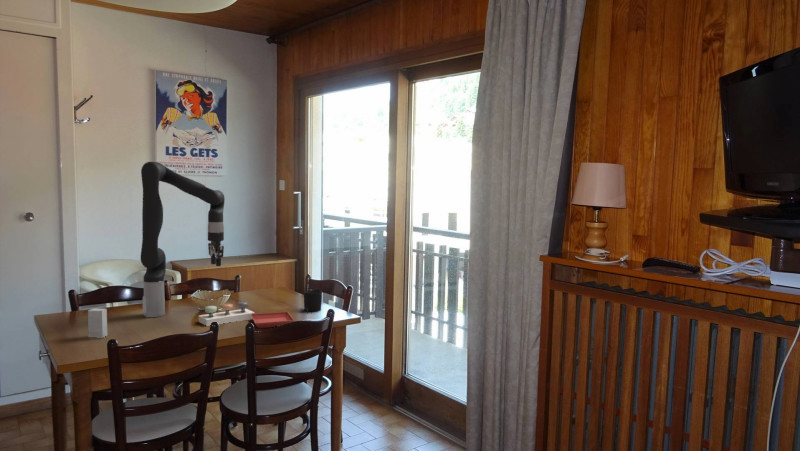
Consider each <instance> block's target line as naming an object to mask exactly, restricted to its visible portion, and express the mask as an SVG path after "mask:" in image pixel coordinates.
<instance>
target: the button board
mask: <svg viewBox="0 0 800 451" xmlns="http://www.w3.org/2000/svg"><path fill="white" fill-rule="evenodd" d="M251 314H256V313H255V312H254V311H252V310H251V309H248V308H245V312H243V313H241V308H239V309H234V310H233V309H232V310H229V315H225V311H222V312H213V317H209V313H207V314H201V315H198V323H200V324H201V325H203V324H204V326H205V325H206V326H205V327H211V326H210V325H211V323H212V322H218V323H219V324H218V325H224V324H223V323H225V324H230V323H229V322H231V323H236V321H237V322H242V321H243V320H244V321H249V320H253V318H252V316H251Z"/></svg>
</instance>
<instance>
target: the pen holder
mask: <svg viewBox="0 0 800 451" xmlns="http://www.w3.org/2000/svg"><path fill="white" fill-rule="evenodd" d="M322 296H323V291H322V290H319V289H310V290H309V289H308V291H303V309H304V311H305V312H308V313H317V312H320V311H321V310H322V300H323V299H322Z"/></svg>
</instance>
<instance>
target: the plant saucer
mask: <svg viewBox="0 0 800 451" xmlns="http://www.w3.org/2000/svg"><path fill="white" fill-rule="evenodd" d="M251 316H252V318H253V319H252V320H253V322H254V324H255V326H256V327H257V328H258V329H262V328H275V326H278V325H282V324H286V323H290V322H293V323H294V321H295V319H294V318H293V317H292V315H291V314H290V313H289V311H278V312H266V313H265V312H262V313H255V314H251Z"/></svg>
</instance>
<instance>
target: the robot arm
mask: <svg viewBox="0 0 800 451" xmlns="http://www.w3.org/2000/svg"><path fill="white" fill-rule="evenodd" d="M140 173H141V174H140V175H141V183H142V211H141V212H142V213H141V215H142V232H141V233H142V234H141V235H142V237H141V238H142V242H141V251H140V263H141V264H142V265H143V267H144V268H146V271H145V273H144V275H143V296H142V316H143V317H145V318H157V317H162V316H165V312H166V311H165V276H166V266H167V263H166V262H167V257H166V254H165V252H164V250H163V249H161V248H160V247H159V237H160V233H161V230H162V227H163V223H164V206H163V203H162V198H161V195H160V191H159V190H160V182H161V183H162V182H163V183H166V184H168V185H171V186H174V187H175V188H177V189H178V190H180V191H182V192H184V193H185V194H187V195H190V196H192V197H195V198H198V199H200V200H201V201H203V202H205V203H206V204H208V205H209V210H208V213H207V219H208V220H207V241H209V242H208V243H207V247H208V255H209V256H210V264H211V265H215V266H216V267H221V266H222V258H224V251H225V248H224V247H225V246H224V245H222V241H224V238H225V236H224V235H225V232H224V231H225V226H224V209H225V194H224V192H222V191H221V190H217V189H215V190H214V189H213V188H209V187H207V186H206V185H205V184H203V183H201V182H199V181H197V180H196V181H195V180H194V179H191V178H188V177H187V176H183V175H181V174H180V173H177V172H175V171H173V170H172V169H170V168H168V167H167V166H165V165H164V164H162V163H160V162H158V161H146V162H145V163H144V164H143V165H142V166H141V170H140Z"/></svg>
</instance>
